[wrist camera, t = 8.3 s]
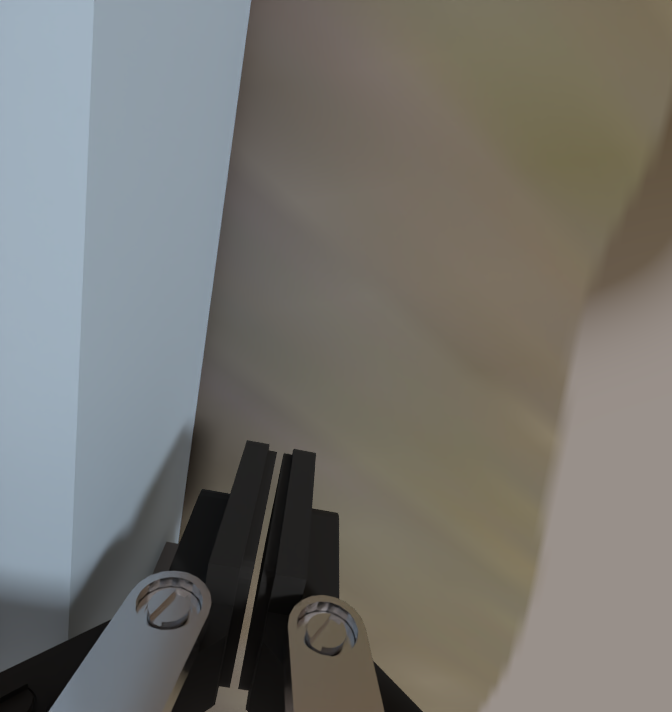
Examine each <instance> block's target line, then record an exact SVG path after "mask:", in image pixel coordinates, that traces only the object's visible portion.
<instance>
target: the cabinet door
mask: <svg viewBox="0 0 672 712" xmlns="http://www.w3.org/2000/svg"><path fill="white" fill-rule="evenodd" d="M250 5H251V0H0V672H2V671H4V670H6V669H8V668H10V667H13V666H15V665H17V664H19V663H21V662H23V661H25V660H27V659H29V658H31V657H33V656H36V655H38V654H40V653H42V652H44V651H46V650H48V649H50V648H52V647H54V646H56V645H58V644H61V643H63V642H65V641H67V640H69V639H71V638H73V637H75V636H77V635H79V634H81V633H84V632H86V631H88V630H90V629H92V628H94V627H96V626H98V625H100V624H102V623H104V622H106V621H109V620H111V619H112V618H113V617H114V615H115V614H116V612H117V611H118V609H119V608H120V606H121V605H122V603H123V602H124V601H125V599H126V598H127V596H128V595H129V593H130V592H131V590H132V589H133V588H134V587H135V586H136V585H137V584H138V583H139V582H140V581H142V580H143V579H145V578H147V577H148V576H150V575H153V574H156V573H159V572H163V571H169V568H170V566H171V563H172V561H173V559H174V556H175V554H176V551H177V549H178V546H179V544H178V540H179V532H180V525H181V518H182V510H183V503H184V495H185V488H186V480H187V473H188V466H189V458H190V451H191V443H192V436H193V428H194V421H195V414H196V406H197V399H198V391H199V384H200V376H201V369H202V362H203V354H204V347H205V339H206V332H207V324H208V317H209V310H210V302H211V295H212V287H213V280H214V272H215V265H216V258H217V250H218V243H219V235H220V228H221V220H222V213H223V206H224V198H225V191H226V183H227V176H228V168H229V161H230V154H231V146H232V139H233V131H234V124H235V116H236V109H237V102H238V94H239V87H240V79H241V72H242V64H243V57H244V50H245V42H246V35H247V27H248V20H249V12H250Z"/></svg>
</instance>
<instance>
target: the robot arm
mask: <svg viewBox="0 0 672 712" xmlns="http://www.w3.org/2000/svg"><path fill="white" fill-rule="evenodd" d="M276 454H277V452H274V451H269V444H264V443H259V442H253V441H248V440H247V442H246V445H245V449H244V452H243V455H242V458H241V461H240V465H239V468H238V471H237V474H236V477H235V481H234V484H233V487H232V490H231V493H230V494H228V493H222V492H217V491H211V490H205V489H202V490H201V492H200V494H199V496H198V499H197V501H196V504H195V506H194V509H193V511H192V514H191V516H190V519H189V521H188V524H187V526H186V529H185V531H184V534H183V536H182V539H181V541H180V544H179V546H178V549H177V551H176V554H175V556H174V559H173V561H172V563H171V566H170V568H169V571H163V572H159V573H156V574H153V575H150V576H148V577H147V578H145V579H143V580H142V581H140V582H139V583H138V584H137V585H136V586H135V587H134V588H133V589H132V590H131V592H130V593H129V595H128V596H127V598H126V599H125V601H124V602H123V603H122V605H121V606H120V608H119V609H118V611H117V612H116V614H115V615H114V617H113V618H112V619H111V620H109V621H106V622H104V623H102V624H100V625H98V626H96V627H94V628H92V629H90V630H88V631H86V632H84V633H81V634H79V635H77V636H75V637H73V638H71V639H69V640H67V641H65V642H63V643H61V644H58V645H56V646H54V647H52V648H50V649H48V650H46V651H44V652H42V653H40V654H38V655H36V656H33V657H31V658H29V659H27V660H25V661H23V662H21V663H19V664H17V665H15V666H13V667H10V668H8V669H6V670H4V671H2V672H0V712H205V711H206V710H208V709H209V708H211V707H212V706H213V705H215V701H216V697H217V692H218V688H219V686H222V687H229V688H230V683H231V678H232V673H233V668H234V663H235V658H236V654H237V649H238V644H239V639H240V634H241V629H242V624H243V619H244V614H245V609H246V604H247V599H248V594H249V589H250V584H251V579H252V574H253V569H254V564H255V559H256V554H257V549H258V544H259V539H260V534H261V529H262V524H263V519H264V514H265V509H266V504H267V499H268V494H269V489H270V484H271V479H272V474H273V469H274V464H275V459H276ZM315 458H316V453H313V452H307V451H302V450H297V449H294V450H293V454H292V455H290V454H285V453H284V455H283V460H282V465H281V469H280V474H279V479H278V484H277V489H276V494H275V499H274V503H273V508H272V513H271V518H270V523H269V528H268V533H267V537H266V542H265V547H264V552H263V558H262V563H261V569H260V574H259V579H258V585H257V590H256V596H255V601H254V606H253V612H252V617H251V623H250V628H249V633H248V639H247V644H246V650H245V655H244V660H243V666H242V671H241V677H240V682H239V688H238V689H242V690H249V692H248V698H247V704H246V710H247V711H248V712H422V711H421V710H420V708H419V707H418V706H417V705H416V704H415V703H414V702H413V701H412V700H411V699H410V698H409V697H408V696H407V695H406V694H405V693H404V692H403V691H402V690H401V689H400V688H399V687H398V686H397V685H396V684H395V683H394V682H393V681H392V680H391V679H390V678H389V677H388V676H387V675H386V674H385V673H384V672H383V670H382V669H381V668H380V667H379V666H378V665H377V664H376V663H375V662H374V661H373V658H372V654H371V650H370V645H369V641H368V636H367V632H366V628H365V625H364V623H363V620H362V618H361V617H360V615H359V614H358V613H357V612H356V610H355V609H354V608H353V607H351V606H350V605H349V604H347V603H346V602H344V601H342V600H340V599H339V515H338V513H335V512H329V511H323V510H318V509H312V500H313V486H314V472H315Z"/></svg>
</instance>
